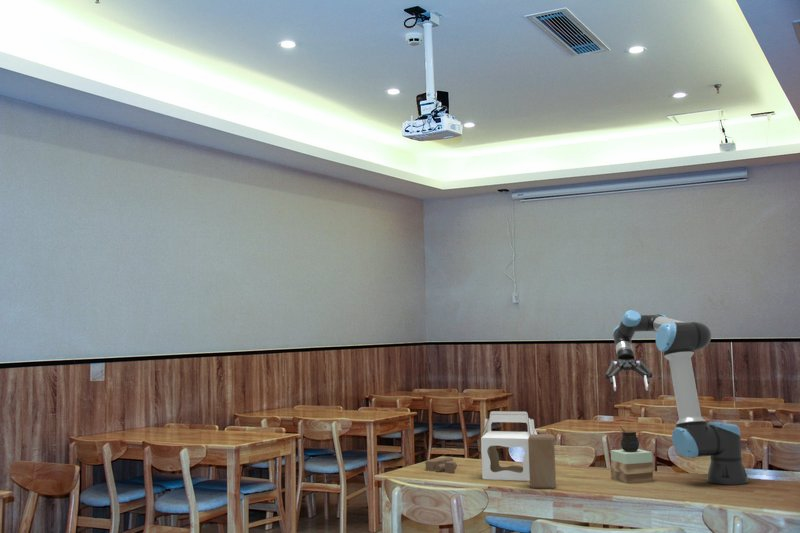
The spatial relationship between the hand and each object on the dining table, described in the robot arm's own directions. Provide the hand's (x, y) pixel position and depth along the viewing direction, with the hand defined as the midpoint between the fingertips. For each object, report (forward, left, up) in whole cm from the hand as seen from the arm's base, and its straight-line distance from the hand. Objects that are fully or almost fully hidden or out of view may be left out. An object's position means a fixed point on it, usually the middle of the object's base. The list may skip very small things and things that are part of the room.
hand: (631, 388), depth 359 cm
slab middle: (-17, +12, -32) cm, 38 cm away
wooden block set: (+42, +70, -36) cm, 89 cm away
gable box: (+10, +54, -36) cm, 66 cm away
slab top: (-17, +12, -28) cm, 35 cm away
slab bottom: (-16, +12, -36) cm, 41 cm away
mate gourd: (-16, +12, -24) cm, 32 cm away
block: (-14, +51, -36) cm, 64 cm away
